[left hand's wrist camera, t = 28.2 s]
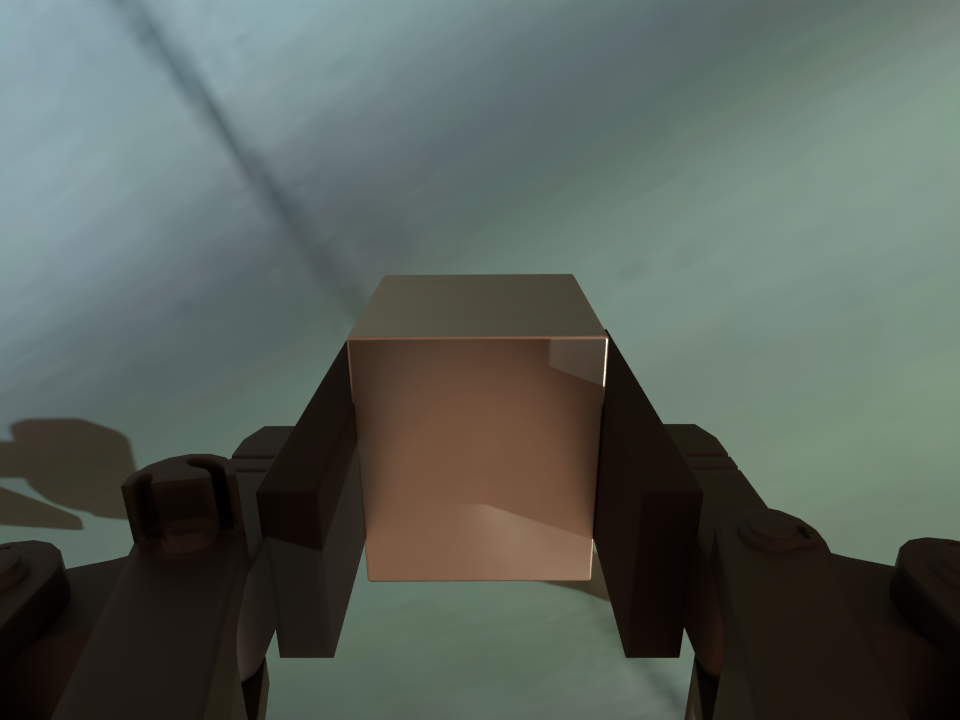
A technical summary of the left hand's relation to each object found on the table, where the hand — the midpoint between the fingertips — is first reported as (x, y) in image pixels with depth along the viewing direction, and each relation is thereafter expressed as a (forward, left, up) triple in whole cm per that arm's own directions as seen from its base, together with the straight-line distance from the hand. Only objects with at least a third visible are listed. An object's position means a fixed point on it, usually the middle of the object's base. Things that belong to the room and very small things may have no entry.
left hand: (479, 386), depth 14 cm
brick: (0, 0, 0) cm, 0 cm away
